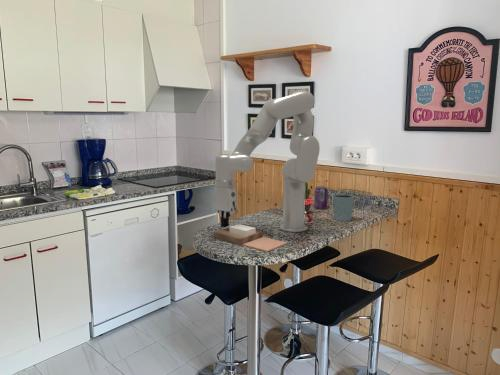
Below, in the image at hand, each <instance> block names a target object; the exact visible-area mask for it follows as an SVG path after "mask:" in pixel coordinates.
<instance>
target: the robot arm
mask: <svg viewBox="0 0 500 375" xmlns="http://www.w3.org/2000/svg"><path fill="white" fill-rule="evenodd" d="M315 103H316V102H315V96H314V95H313V94H312V92H309V91H306V90H302V91H297V92H292V93H290V94H288V95H287V96H282V97H277V98H270V99H268V100H266V101H265V103H264V104H263V105H262V107H261V109H260V111H259V113H258V114H257V116H256V117H255V119H254V121H253V122H252V125H251V126H250V128H249V129H248V130H247V131H246V133H245V134H244V135H243V136H242V138H241V139H240V140H239V141H238V143H237V145H236V146H235V148H234V149H233V152H232V154H230V153H229V154H223V153H222V154H217V155H216V156H215V160H214V161H215V186H214V191H213V208H214V212H217V213H218V215H219V218H220V227H221V228H228V227H230V226H229V225H230V223H229V222H230V221H229V220H230V219H229V218H230V217H231V216H232V215H236V212H235V211H237V210H238V198H237V197H238V196H237V190H236V187H235V185H236V183H235V182H234V178H235V177H234V174H235V172H236V173H237V172H238V173H248V172H249V171H251V170H252V169H253V167H254V160H253V158H252V157H251V154H253V152H254V150H256V148H257V147H258V146H260V145H261V144H263V143H264V142H266V141H267V140H268V138H269V137H270V135H271V133H272V131H273V130H274V129H275V127H276V124H277V123H278V121H279V120H285V119H288V118H291V117H293V125H292V126H293V129H292V133H291V137H290V142H289V150H290V152H291V153H292V154H293V155H295V156H296V158H289V159H287V160H286V161H285V162H284V164H283V166H282V179H283V182H282V183H283V203H282V204H283V210H282V211H283V212H282V223H281V224H280V225H279V229H280V230H281V231H284V232H290V233H300V232H306V231H307V230H308V225H307V224H305V222H308V221H309V220H310V219H309V217H308V216H306V217H305V214H304V212H305V201H306V186H305V184H306V183H309V182H310V181H312V179H313V178H314V176H315V174H316V170H317V165H318V160H319V155H320V151H321V150H320V147H321V146H320V141H319V140H318V138H316V137H315V136H313V130H314V123H315V122H314V115H313V113H312V110H313V108H314V106H315Z"/></svg>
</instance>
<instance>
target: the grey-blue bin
mask: <svg viewBox="0 0 500 375" xmlns="http://www.w3.org/2000/svg"><path fill="white" fill-rule="evenodd" d="M332 201H333V204H332V205H333V207H332V208H333V220H334V221H336V220H337V221H336V222H341V221H348V222H351V221H352V217H353V216H352V215H353V210H354V209H353V208H354V201H355V196H354V195H352V194H346V193H338V194H333V195H332Z"/></svg>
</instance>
